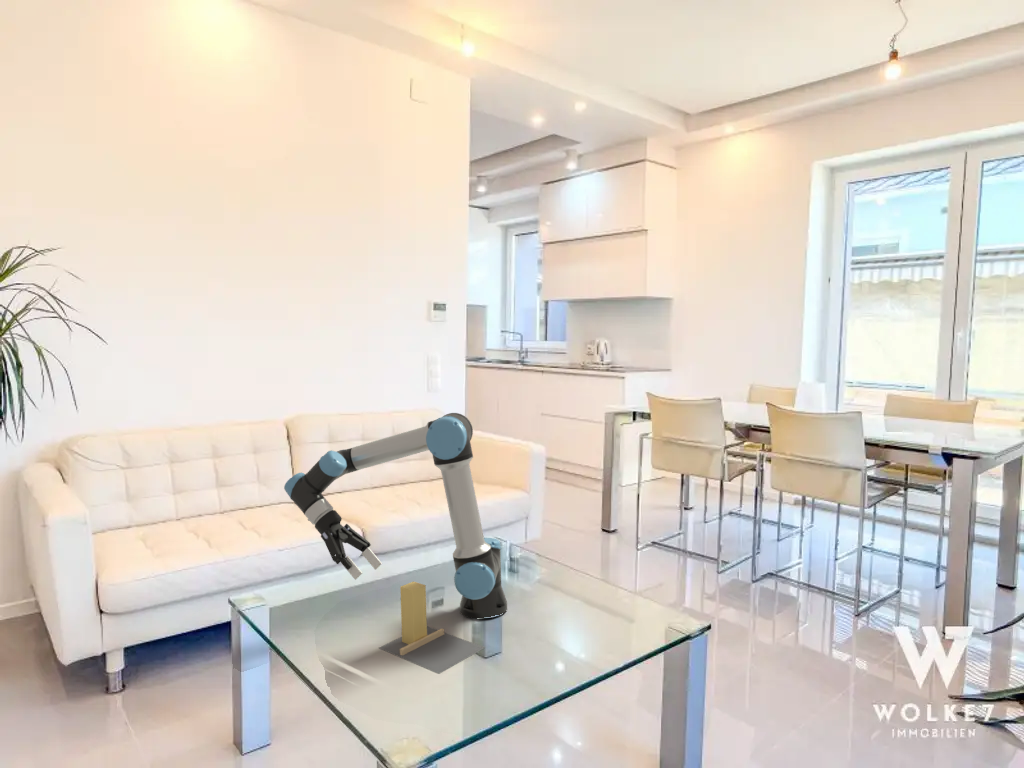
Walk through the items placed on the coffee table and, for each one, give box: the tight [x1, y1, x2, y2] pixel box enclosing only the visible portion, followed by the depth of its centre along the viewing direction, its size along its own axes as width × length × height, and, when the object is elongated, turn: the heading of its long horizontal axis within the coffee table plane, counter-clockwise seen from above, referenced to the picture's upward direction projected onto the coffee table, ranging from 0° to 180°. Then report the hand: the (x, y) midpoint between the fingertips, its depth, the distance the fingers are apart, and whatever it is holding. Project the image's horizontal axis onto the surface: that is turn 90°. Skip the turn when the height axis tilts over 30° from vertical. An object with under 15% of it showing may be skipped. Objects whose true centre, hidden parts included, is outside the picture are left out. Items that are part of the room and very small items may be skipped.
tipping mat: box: [378, 625, 486, 674], centre depth 181 cm, size 24×18×2 cm
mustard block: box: [400, 581, 428, 644], centre depth 185 cm, size 5×5×16 cm
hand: (369, 571), depth 191 cm, fingers open, 13 cm apart
